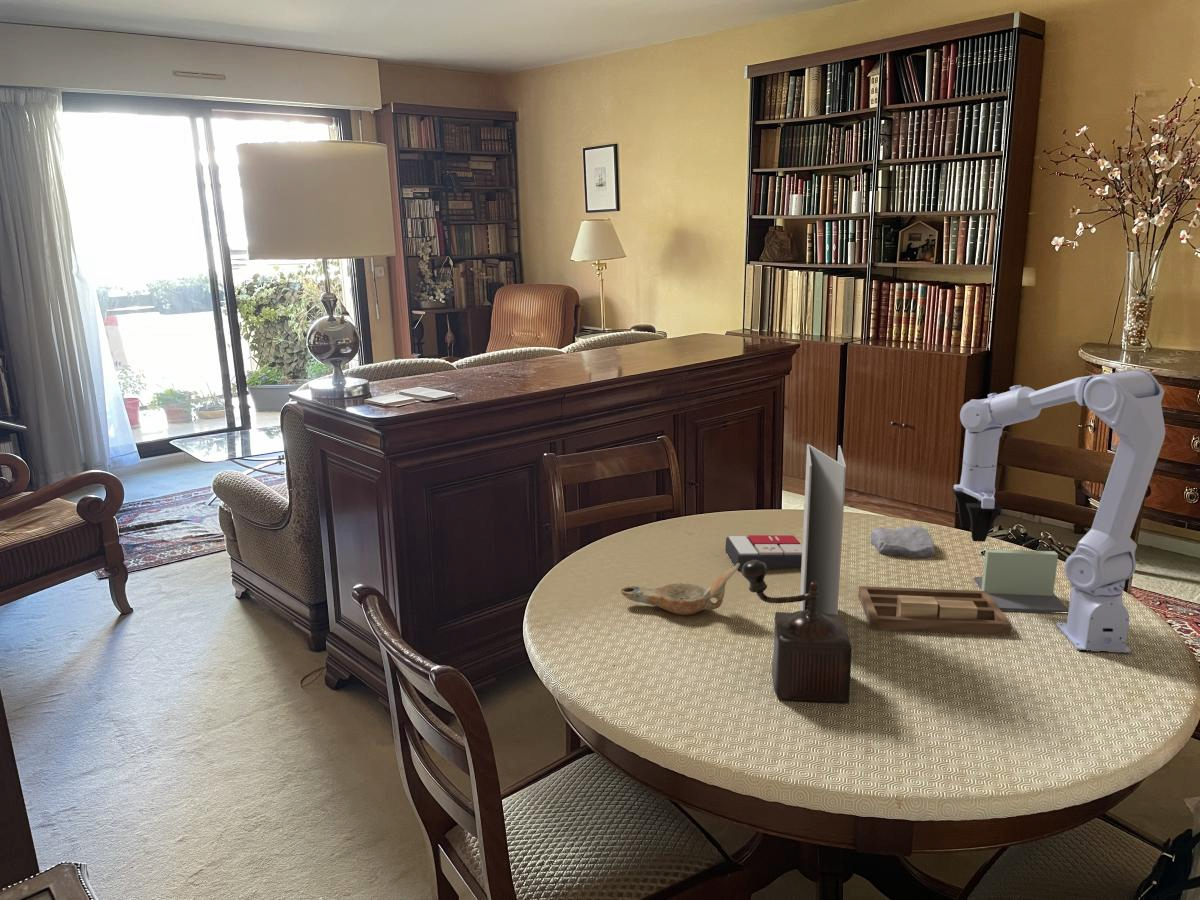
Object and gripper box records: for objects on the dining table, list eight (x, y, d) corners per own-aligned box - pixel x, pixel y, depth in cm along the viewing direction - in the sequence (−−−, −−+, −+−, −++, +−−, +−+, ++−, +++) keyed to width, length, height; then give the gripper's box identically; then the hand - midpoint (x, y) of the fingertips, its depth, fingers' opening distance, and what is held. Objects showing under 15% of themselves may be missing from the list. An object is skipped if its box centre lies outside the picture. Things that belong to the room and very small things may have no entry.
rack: (1009, 635, 142) (1011, 624, 142) (871, 629, 145) (871, 618, 145) (985, 601, 155) (986, 591, 155) (858, 596, 158) (859, 586, 158)
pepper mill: (839, 666, 133) (845, 558, 129) (850, 705, 122) (858, 588, 118) (738, 662, 135) (741, 555, 131) (740, 699, 124) (744, 584, 120)
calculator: (812, 552, 171) (738, 552, 170) (810, 572, 172) (737, 572, 171) (795, 533, 182) (726, 533, 180) (793, 552, 183) (724, 552, 181)
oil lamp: (735, 626, 147) (736, 572, 145) (615, 613, 153) (614, 561, 150) (741, 605, 155) (742, 554, 153) (626, 594, 161) (626, 544, 158)
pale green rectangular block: (1052, 595, 156) (1058, 554, 154) (983, 593, 157) (988, 552, 155) (1049, 592, 157) (1054, 551, 155) (981, 589, 159) (985, 549, 157)
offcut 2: (975, 630, 145) (977, 608, 144) (938, 628, 145) (940, 607, 144) (970, 622, 148) (972, 601, 147) (934, 620, 148) (936, 599, 147)
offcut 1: (935, 628, 146) (938, 604, 144) (899, 626, 146) (901, 602, 145) (931, 620, 148) (933, 596, 147) (895, 619, 149) (897, 595, 148)
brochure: (835, 642, 141) (846, 467, 133) (801, 640, 142) (809, 465, 134) (831, 606, 154) (840, 445, 147) (799, 604, 155) (807, 444, 148)
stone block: (937, 566, 177) (924, 540, 186) (940, 546, 175) (926, 521, 184) (879, 567, 178) (868, 541, 187) (880, 547, 176) (869, 522, 185)
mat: (1068, 613, 150) (1069, 610, 150) (996, 610, 152) (997, 607, 151) (1039, 582, 163) (1040, 579, 163) (974, 579, 165) (974, 576, 165)
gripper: (946, 453, 164) (940, 520, 167) (967, 473, 150) (960, 546, 153) (985, 453, 163) (978, 521, 166) (1010, 474, 149) (1002, 548, 152)
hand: (972, 533), depth 160 cm, fingers open, 7 cm apart
